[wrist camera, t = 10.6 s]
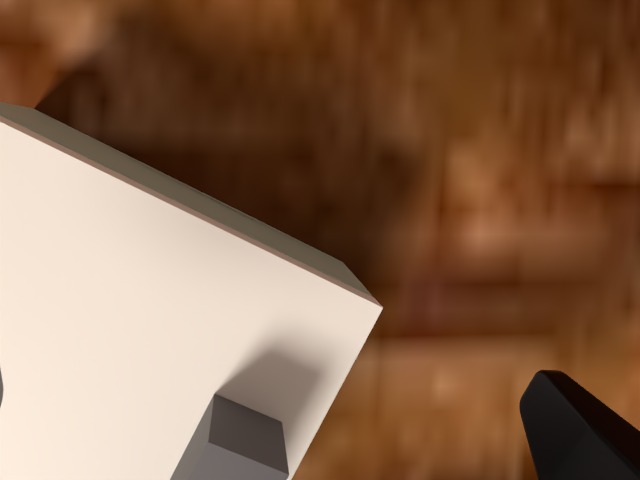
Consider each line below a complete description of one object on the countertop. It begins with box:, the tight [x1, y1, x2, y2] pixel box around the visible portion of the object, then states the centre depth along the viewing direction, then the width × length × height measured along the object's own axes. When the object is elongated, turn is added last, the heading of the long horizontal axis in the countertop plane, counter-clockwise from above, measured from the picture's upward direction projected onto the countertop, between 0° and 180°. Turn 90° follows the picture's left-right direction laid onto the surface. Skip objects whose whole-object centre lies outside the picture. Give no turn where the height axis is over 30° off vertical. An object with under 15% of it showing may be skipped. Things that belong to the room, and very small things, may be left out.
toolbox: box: [0, 102, 372, 297], centre depth 18 cm, size 12×16×5 cm
